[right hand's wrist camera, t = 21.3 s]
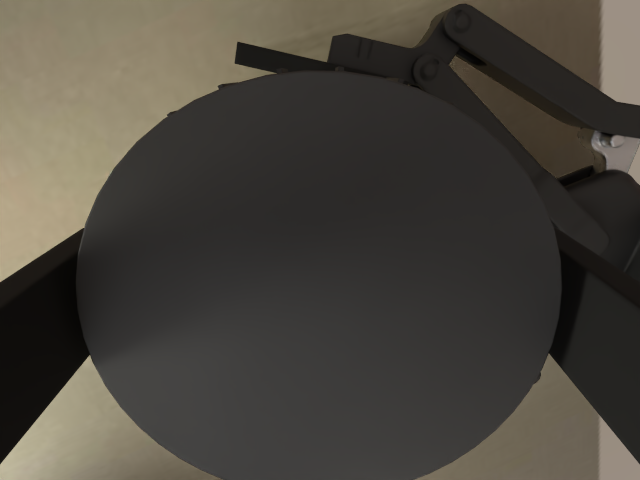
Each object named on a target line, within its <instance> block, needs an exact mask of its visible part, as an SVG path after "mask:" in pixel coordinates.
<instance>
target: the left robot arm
mask: <svg viewBox="0 0 640 480" xmlns="http://www.w3.org/2000/svg"><path fill="white" fill-rule="evenodd" d="M455 55H456V56H457V57H459V58H460V59H462V60H464V61H465V62H467V63H468V64H470V65H472V66H473V67H475V68H476V69H478V70H479V71H481V72H483V73H484V74H486V75H487V76H489V77H491V78H492V79H494V80H495V81H497V82H498V83H500V84H502V85H503V86H505V87H506V88H508V89H510V90H511V91H513V92H514V93H516V94H518V95H519V96H521V97H522V98H524V99H525V100H527V101H529V102H530V103H532V104H533V105H535V106H537V107H538V108H540V109H541V110H543V111H544V112H546V113H548V114H549V115H551V116H552V117H554V118H556V119H558V120H559V121H561V122H563V123H566V124H569V125H571V126H576V127H580V128H581V129H580V130H579V131H578V138H579V139H580V143H581V145H582V146H583V147H585V148H587V149H589V150H590V151H591V152H592V153H593V155H594V165H591V166H588V167H585V168H583V169H580V170H578V171H575V172H572V173H570V174H567V175H565V176H562V177H560V178H557V179H556V178H555V177H554V176H553V175H552V174H550V173H549V172H548V171H546V170H545V169H544V168H543V167H541V166H540V165H539V163H538V162H537V161H536V160H535V159H534V158H533V157H532V156H531V155H530V154H529V153H528V151H527V150H526V149H525V148H524V147H523V146H522V145H521V144H520V143H519V142H518V141H517V140H516V138H515V137H514V136H513V135H512V134H511V133H510V132H509V131H508V130H507V129H506V128H505V126H504V125H503V124H502V123H501V122H500V121H499V120H498V119H497V118H496V117H495V116H494V114H493V113H492V112H491V111H490V110H489V109H488V108H487V107H486V106H485V105H484V104H483V102H482V101H481V100H480V99H479V98H478V97H477V96H476V95H475V94H474V93H473V92H472V91H471V89H470V88H469V87H468V86H467V85H466V84H465V83H464V82H463V81H462V80H461V79H460V77H459V76H458V75H457V74H456V73H455V72H454V71H453V70H452V69H451V68H450V67H449V63H450V62H451V60H452V59H453V57H454V56H455ZM235 64H239V65H244V66H248V67H252V68H257V69H261V70H265V71H270V72H274V73H277V70H276V69H281V68H282V69H288V72H296V71H304V70H308V71H335V68H336V67H344V71H346V72H352V73H358V74H364V75H371V76H377V77H382V78H400V79H403V80H404V82H403V84H405V85H409V86H411V87H415V88H418V89H420V90H422V91H424V92H426V93H428V94H430V95H433V96H435V97H437V98H439V99H441V100H443V101H446V102H451V103H454V104H456V105H457V109H459V110H460V111H462V112H463V113H465V114H466V115H468V116H469V117H471V118H472V119H474V120H475V121H477V122H478V123H480V124H481V125H482V126H483V127H485V128H486V129H487V130H488V131H489V132H490V133H491V134H492V135H493V136H494V137H495V138H498V139H499V140H500V141H501V143H502V144H503V145H504V146H505V147H506V148H507V149H508V150H509V151H510V152H511V154H512V155H513V156H514V157H515V159H516V160H517V161H518V162H519V164H520V165H521V166H522V167H523V169H524V170H525V171H526V172H527V174H528V175H529V177H530V179H531V181H532V182H533V184H534V186H535V188H536V189H537V191H538V193H539V195H540V196H541V198H542V200H543V202H544V204H545V207H546V209H547V212H548V215H549V217H550V220H551V222H552V225H553V228H557V229H559V230H560V231H562V232H564V233H565V234H567V235H568V236H570V237H571V238H573V239H574V240H576V241H577V242H579V243H580V244H582V245H583V246H585V247H586V248H588V249H590V250H591V251H593V252H594V253H596V254H597V255H599V256H600V257H602V258H603V259H605V260H606V261H608V262H609V263H611V264H612V265H614V266H616V267H617V268H619V269H620V270H622V271H623V272H625V273H626V274H628V275H629V276H631V277H632V278H634V279H635V280H637V281H638V282H640V185H639V184H638V183H637V182H636V181H635V180H634V179H633V178H632V177H631V176H630V175H629V174H628V171H629V168H630V166H631V163H632V161H633V158H634V156H635V154H636V151H637V149H638V147H639V144H640V106H639V105H633V104H627V103H621V102H616V101H615V100H613V99H611V98H610V97H608V96H607V95H605V94H604V93H602V92H601V91H599V90H598V89H596V88H595V87H593V86H592V85H590V84H589V83H587V82H586V81H584V80H583V79H581V78H580V77H578V76H577V75H575V74H574V73H572V72H571V71H569V70H568V69H566V68H565V67H563V66H562V65H560V64H559V63H557V62H555V61H554V60H552V59H551V58H549V57H548V56H546V55H545V54H543V53H542V52H540V51H539V50H537V49H536V48H534V47H533V46H531V45H530V44H528V43H527V42H525V41H524V40H522V39H521V38H519V37H518V36H516V35H515V34H513V33H512V32H510V31H509V30H507V29H506V28H504V27H503V26H501V25H499V24H498V23H496V22H495V21H493V20H492V19H490V18H489V17H487V16H486V15H484V14H483V13H481V12H480V11H478V10H477V9H475V8H474V7H472V6H470V5H467V4H459V5H457V6H455V7H452V8H450V9H448V10H446V11H444V12H442V13H441V14H439V15H437V16H435V18H434V19H433V20H432V21H431V24H430V27H429V29H428V31H427V32H426V34H425V35H424V37H423V38H422V40H421V41H420V42H419V44H418V45H416V46H415V47H414V48H405V47H401V46H396V45H392V44H388V43H384V42H380V41H376V40H371V39H367V38H363V37H359V36H355V35H351V34H343V35H337V36H333V38H332V41H331V46H330V51H329V56H328V61H327V63H326V62H322V61H318V60H314V59H309V58H305V57H301V56H297V55H292V54H288V53H284V52H279V51H275V50H271V49H267V48H262V47H258V46H254V45H249V44H245V43H241V42H237V49H236V57H235ZM540 376H541V373H539V375H538V377H537V378H536V380H535V382H534V383H533V384H535V383H536V382H537V381H538V380H539V379H540Z"/></svg>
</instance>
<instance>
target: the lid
mask: <svg viewBox="0 0 640 480" xmlns="http://www.w3.org/2000/svg"><path fill="white" fill-rule="evenodd" d="M276 70H277V74H271V75H265V76H261V77H257V78H254V79H250V80H246V81H243V82H239V83H238V82H237V83H228V84H221V85H219V86H218V88H219V90H217V91H214V92H212V93H210V94H207V95H205V96H203V97H200V98H198V99H196V100H194V101H192V102H191V103H189V104H187V105H186V106H184V107H182V108H181V109H179V110H177V111H173V112H170V113H169V114H167V116H168V117H166V118H165V119H163V120H162V121H161V122H160V123H158V124H157V125H156V126H155V127H154V128H153V129H151V130H150V131H149V132H148V133H147V134H146V135H144V136H143V137H142V138H141V139H140V140H138V141H137V142H136V143H135V145H134V146H133V147H132V148H131V149H130V150H129V151H128V152H127V154H126V155H125V156H124V157H123V158H122V160H121V161H120V162H119V163H118V164H117V165H116V167H115V168H114V169H113V171H112V173H111V174H110V176H109V177H108V179H107V181H106V182H105V184H104V185H103V187H102V189H101V190H100V192H99V193H98V195H97V198H96V200H95V202H94V205H93V207H92V209H91V212H90V214H89V216H88V219H87V221H86V224H85V228H84V232H83V236H82V240H81V244H80V248H79V252H78V261H77V273H76V294H77V309H78V314H79V319H80V324H81V328H82V333H83V337H84V340H85V343H86V345H87V348H88V351H89V353H90V356H91V359H92V361H93V364H94V365H95V367H96V369H97V371H98V373H99V375H100V377H101V378H102V380H103V382H104V384H105V386H106V387H107V389H108V390H109V391H110V393H111V394H112V396H113V397H114V398H115V400H116V401H117V403H118V404H119V405H120V407H121V408H122V409H123V410H124V411H125V412H126V413H127V415H128V416H129V417H130V418H131V419H132V420H133V421H134V422H135V423H136V424H137V425H138V427H140V428H141V429H142V430H143V431H144V432H145V433H147V434H148V435H149V436H150V437H151V438H152V439H154V440H155V441H156V442H157V443H158V444H160V445H161V446H162V447H164V448H165V449H167V450H168V451H170V452H171V453H173V454H174V455H176V456H177V457H178V458H180V459H182V460H184V461H185V462H187V463H189V464H191V465H193V466H195V467H197V468H198V469H200V470H202V471H204V472H207V473H209V474H212V475H214V476H216V477H219V478H221V479H224V480H414V479H417V478H419V477H422V476H424V475H427V474H430V473H432V472H433V471H435V470H437V469H439V468H441V467H443V466H445V465H447V464H449V463H451V462H453V461H455V460H456V459H458V458H459V457H461V456H462V455H464V454H465V453H467V452H468V451H470V450H472V449H473V448H475V447H476V446H477V445H478V444H479V443H481V442H482V441H483V440H484V439H486V438H487V437H488V436H489V435H491V434H492V433H493V432H494V431H495V430H496V429H497V428H498V427H499V426H500V425H501V424H502V423H503V422H504V421H505V420H506V419H507V418H508V417H509V416H510V415H511V414H512V413H513V412H514V410H515V409H516V408H517V406H518V405H519V404H520V402H521V401H522V400H523V399H524V397H525V396H526V395H527V393H528V392H529V390H530V389H531V387H532V385H533V383H534V382H535V380H536V378H537V377H538V375H539V373H540V371H541V370H542V368H543V365H544V363H545V360H546V358H547V356H548V353H549V351H550V348H551V346H552V343H553V340H554V336H555V332H556V328H557V324H558V320H559V315H560V305H561V295H562V276H561V259H560V254H559V250H558V245H557V240H556V235H555V230H554V228H553V225H552V222H551V220H550V217H549V215H548V212H547V209H546V207H545V204H544V202H543V200H542V198H541V196H540V195H539V193H538V191H537V189H536V188H535V186H534V184H533V182H532V181H531V179H530V177H529V175H528V174H527V172H526V171H525V170H524V169H523V167H522V166H521V165H520V164H519V162H518V161H517V160H516V159H515V157H514V156H513V155H512V154H511V152H510V151H509V150H508V149H507V148H506V147H505V146H504V145H503V144H502V143H501V141H500V140H499V139H498V138H495V137H494V136H493V135H492V134H491V133H490V132H489V131H488V130H487V129H486V128H485V127H483V126H482V125H481V124H480V123H478V122H477V121H475V120H474V119H472V118H471V117H469V116H468V115H466V114H465V113H463V112H462V111H460V110H459V109H457V105H456V104H454V103H451V102H446V101H443V100H441V99H439V98H437V97H435V96H433V95H430V94H428V93H426V92H424V91H422V90H420V89H418V88H415V87H411V86H408V85H405V84H403V82H404V80H403V79H400V78H382V77H377V76H371V75H364V74H358V73H352V72H346V71H344V67H336V68H335V71H308V70H304V71H296V72H288V69H282V68H281V69H276Z"/></svg>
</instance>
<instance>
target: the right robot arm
mask: <svg viewBox="0 0 640 480" xmlns="http://www.w3.org/2000/svg"><path fill="white" fill-rule="evenodd" d="M554 230H555V235H556V240H557V245H558V250H559V254H560V259H561V276H562V295H561V305H560V315H559V320H558V324H557V328H556V332H555V336H554V340H553V343H552V346H551V348H550V351H549V354H550V355H551V356H552V357H553V359H554V360H555V361H556V362H557V364H558V365H559V366H560V367H561V368H562V370H563V371H564V372H565V373H566V375H567V376H568V377H569V378H570V379H571V381H572V382H573V383H574V384H575V386H576V387H577V388H578V389H579V390H580V392H581V393H582V394H583V395H584V397H585V398H586V399H587V400H588V401H589V403H590V404H591V405H592V406H593V408H594V409H595V410H596V411H597V412H598V414H599V415H600V416H601V417H602V419H603V420H604V421H605V422H606V423H607V425H608V426H609V427H610V428H611V430H612V431H613V432H614V433H615V434H616V436H617V437H618V438H619V439H620V441H621V442H622V443H623V444H624V445H625V447H626V448H627V449H628V450H629V451H630V453H631V454H632V455H633V456H634V458H635V459H636V460H637V461H638V463H639V464H640V282H638V281H637V280H635V279H634V278H632V277H631V276H629V275H628V274H626V273H625V272H623V271H622V270H620V269H619V268H617V267H616V266H614V265H612V264H611V263H609V262H608V261H606V260H605V259H603V258H602V257H600V256H599V255H597V254H596V253H594V252H593V251H591V250H590V249H588V248H586V247H585V246H583V245H582V244H580V243H579V242H577V241H576V240H574V239H573V238H571V237H570V236H568V235H567V234H565V233H564V232H562V231H560V230H559V229H557V228H554ZM83 232H84V228H83V229H81V230H80V231H78V232H76V233H75V234H73V235H72V236H70V237H69V238H67V239H66V240H64V241H63V242H61V243H60V244H58V245H57V246H55V247H54V248H52V249H50V250H49V251H47V252H46V253H44V254H43V255H41V256H40V257H38V258H37V259H35V260H34V261H32V262H31V263H29V264H28V265H26V266H24V267H23V268H21V269H20V270H18V271H17V272H15V273H14V274H12V275H11V276H9V277H8V278H6V279H5V280H3V281H2V282H0V464H1V463H2V461H3V460H4V459H5V458H6V456H7V455H8V454H9V453H10V452H11V450H12V449H13V448H14V447H15V445H16V444H17V443H18V442H19V441H20V439H21V438H22V437H23V436H24V434H25V433H26V432H27V431H28V430H29V428H30V427H31V426H32V425H33V423H34V422H35V421H36V420H37V419H38V417H39V416H40V415H41V414H42V412H43V411H44V410H45V409H46V408H47V406H48V405H49V404H50V403H51V401H52V400H53V399H54V398H55V397H56V395H57V394H58V393H59V392H60V390H61V389H62V388H63V387H64V386H65V384H66V383H67V382H68V381H69V379H70V378H71V377H72V376H73V375H74V373H75V372H76V371H77V370H78V368H79V367H80V366H81V365H82V364H83V362H84V361H85V360H86V359H87V357H88V356H89V355H90V353H89V351H88V348H87V345H86V343H85V340H84V337H83V333H82V328H81V324H80V319H79V314H78V309H77V294H76V273H77V261H78V252H79V248H80V244H81V240H82V236H83Z"/></svg>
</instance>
